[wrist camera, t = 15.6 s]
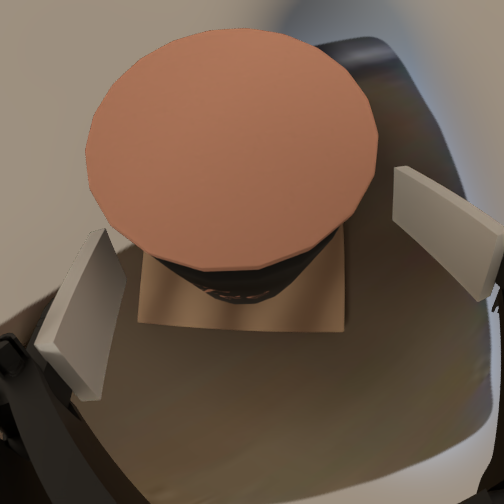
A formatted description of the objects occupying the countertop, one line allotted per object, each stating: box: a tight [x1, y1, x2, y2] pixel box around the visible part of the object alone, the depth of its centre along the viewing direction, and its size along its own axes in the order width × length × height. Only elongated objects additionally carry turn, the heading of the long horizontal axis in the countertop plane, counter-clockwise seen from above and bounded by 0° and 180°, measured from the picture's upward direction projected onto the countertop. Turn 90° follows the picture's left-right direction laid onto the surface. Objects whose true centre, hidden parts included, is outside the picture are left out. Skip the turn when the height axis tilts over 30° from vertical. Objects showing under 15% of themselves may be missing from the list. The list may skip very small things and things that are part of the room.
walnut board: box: [138, 223, 345, 332], centre depth 28 cm, size 18×15×2 cm
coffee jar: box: [85, 28, 378, 304], centre depth 19 cm, size 11×11×18 cm
